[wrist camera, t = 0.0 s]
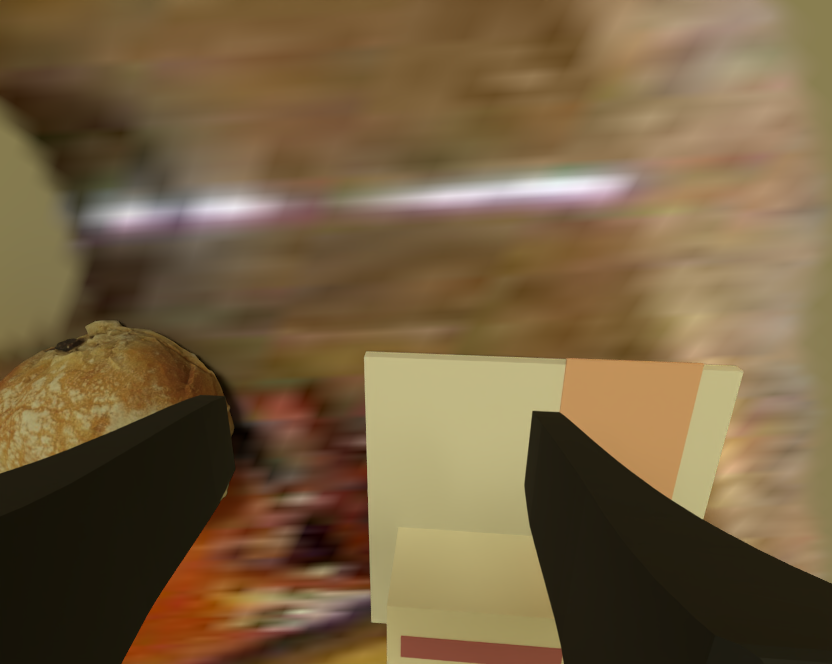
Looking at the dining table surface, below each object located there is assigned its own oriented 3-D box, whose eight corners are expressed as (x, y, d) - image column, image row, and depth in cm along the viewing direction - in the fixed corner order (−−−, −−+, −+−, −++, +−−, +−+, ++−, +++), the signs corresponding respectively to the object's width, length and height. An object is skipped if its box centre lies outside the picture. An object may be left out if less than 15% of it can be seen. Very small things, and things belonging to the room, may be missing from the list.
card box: (549, 605, 25) (569, 697, 21) (397, 593, 25) (386, 681, 21) (559, 537, 23) (583, 622, 19) (398, 527, 24) (386, 607, 20)
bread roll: (225, 297, 25) (83, 269, 17) (290, 485, 23) (166, 547, 16) (86, 370, 27) (-96, 374, 19) (137, 546, 25) (-39, 628, 18)
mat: (663, 633, 26) (669, 646, 25) (373, 612, 27) (371, 623, 26) (737, 359, 20) (746, 365, 20) (366, 345, 21) (363, 351, 21)
